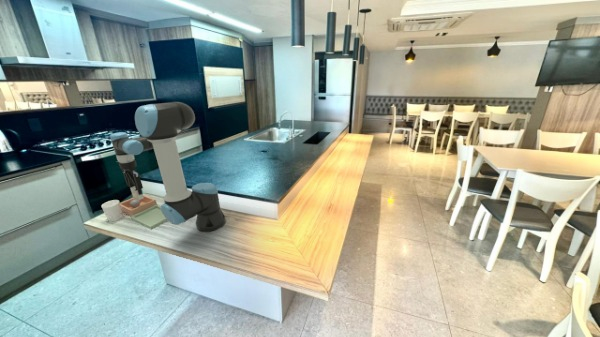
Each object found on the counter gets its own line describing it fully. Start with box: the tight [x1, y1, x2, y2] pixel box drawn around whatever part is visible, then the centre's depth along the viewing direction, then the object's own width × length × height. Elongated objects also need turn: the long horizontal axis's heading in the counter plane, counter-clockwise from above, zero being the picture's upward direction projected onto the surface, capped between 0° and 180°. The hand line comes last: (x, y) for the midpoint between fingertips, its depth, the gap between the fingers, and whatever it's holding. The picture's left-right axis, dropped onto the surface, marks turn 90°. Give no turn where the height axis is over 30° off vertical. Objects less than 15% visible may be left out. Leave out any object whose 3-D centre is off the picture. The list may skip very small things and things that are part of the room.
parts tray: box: [130, 204, 169, 230], centre depth 131 cm, size 20×15×2 cm
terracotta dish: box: [120, 194, 158, 217], centre depth 139 cm, size 15×14×5 cm
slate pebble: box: [130, 199, 140, 208], centre depth 140 cm, size 5×5×5 cm
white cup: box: [101, 199, 124, 222], centre depth 129 cm, size 8×8×10 cm
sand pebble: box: [132, 192, 138, 200], centre depth 134 cm, size 5×5×5 cm
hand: (138, 197), depth 135 cm, fingers closed on sand pebble, 5 cm apart
